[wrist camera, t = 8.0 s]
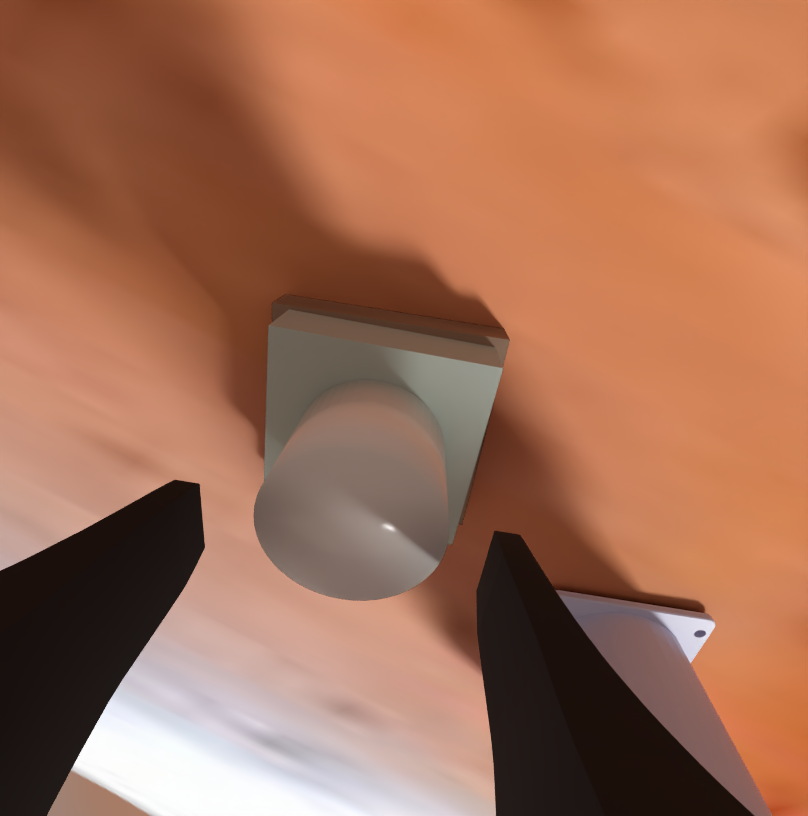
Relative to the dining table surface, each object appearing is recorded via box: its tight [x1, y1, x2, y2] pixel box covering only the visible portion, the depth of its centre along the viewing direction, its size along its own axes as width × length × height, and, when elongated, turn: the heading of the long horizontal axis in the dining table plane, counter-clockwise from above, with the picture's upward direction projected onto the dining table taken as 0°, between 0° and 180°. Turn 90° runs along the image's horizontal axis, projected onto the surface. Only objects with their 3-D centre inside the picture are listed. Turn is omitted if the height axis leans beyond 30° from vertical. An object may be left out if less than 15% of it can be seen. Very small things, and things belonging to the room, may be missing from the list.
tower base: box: [272, 294, 510, 525], centre depth 17 cm, size 8×8×2 cm
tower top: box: [264, 309, 503, 545], centre depth 15 cm, size 7×7×2 cm
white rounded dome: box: [254, 379, 449, 601], centre depth 12 cm, size 5×5×4 cm
